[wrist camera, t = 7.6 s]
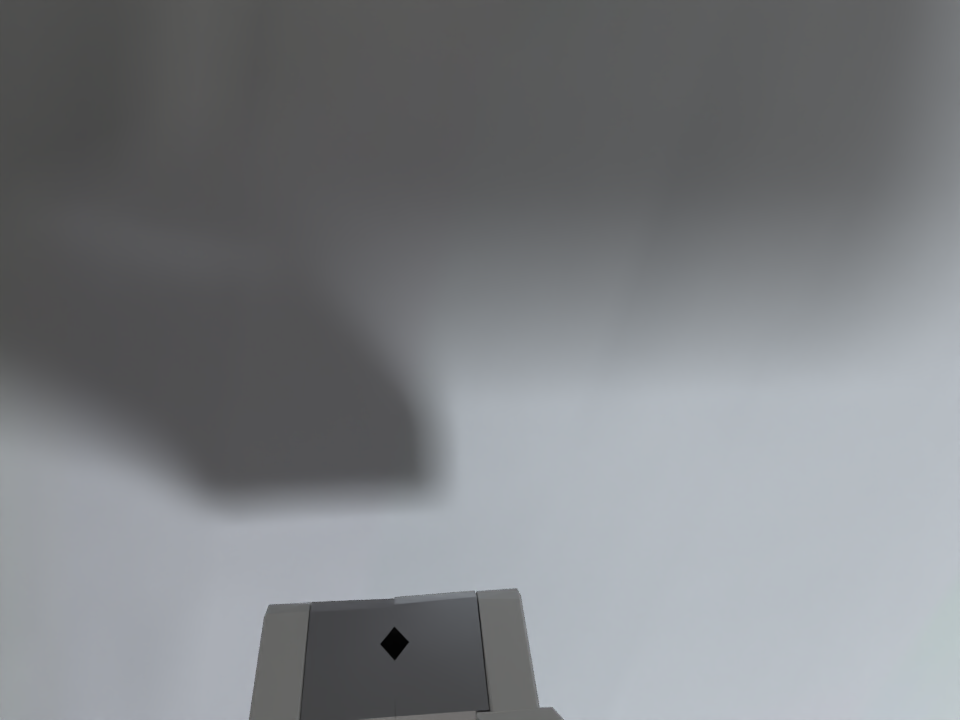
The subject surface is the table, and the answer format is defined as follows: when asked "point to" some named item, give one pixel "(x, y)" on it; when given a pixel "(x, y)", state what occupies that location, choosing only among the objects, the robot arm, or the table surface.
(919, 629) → the table surface
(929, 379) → the table surface
